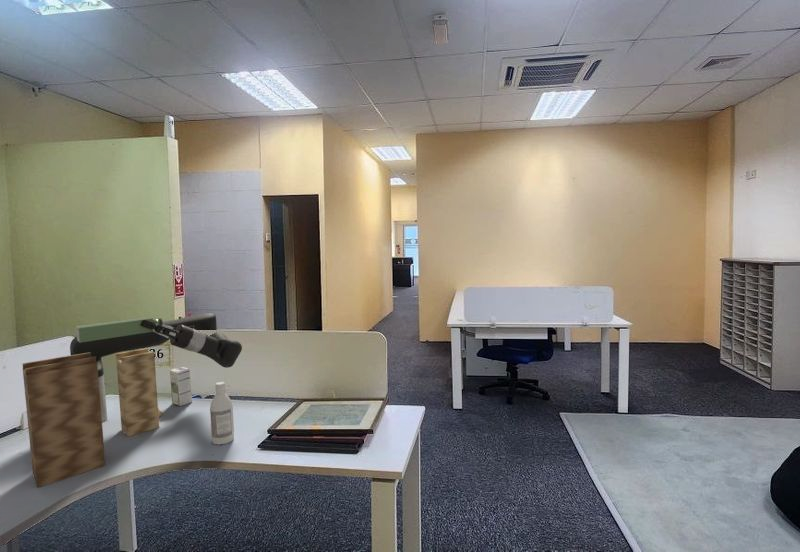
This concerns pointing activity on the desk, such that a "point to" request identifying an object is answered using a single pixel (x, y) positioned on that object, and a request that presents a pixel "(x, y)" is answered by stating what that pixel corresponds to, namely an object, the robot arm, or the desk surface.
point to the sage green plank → (113, 329)
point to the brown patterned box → (63, 417)
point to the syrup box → (180, 386)
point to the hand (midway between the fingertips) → (139, 321)
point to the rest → (137, 391)
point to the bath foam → (221, 416)
